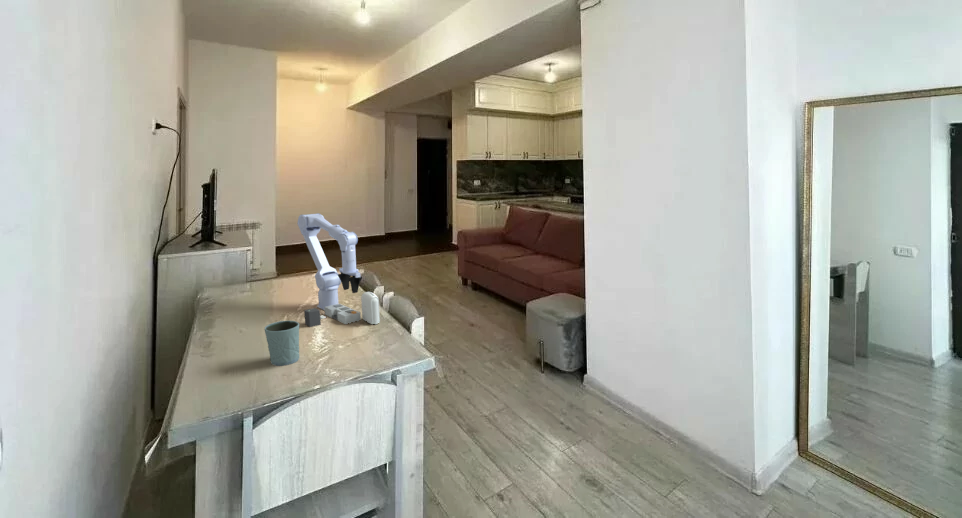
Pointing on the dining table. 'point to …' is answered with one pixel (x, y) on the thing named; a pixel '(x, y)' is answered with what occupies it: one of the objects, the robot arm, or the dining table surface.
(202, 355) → the dining table surface
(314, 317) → the charger
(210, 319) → the dining table surface
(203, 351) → the dining table surface
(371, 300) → the photo printer
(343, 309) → the power strip
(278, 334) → the grey-green cup
